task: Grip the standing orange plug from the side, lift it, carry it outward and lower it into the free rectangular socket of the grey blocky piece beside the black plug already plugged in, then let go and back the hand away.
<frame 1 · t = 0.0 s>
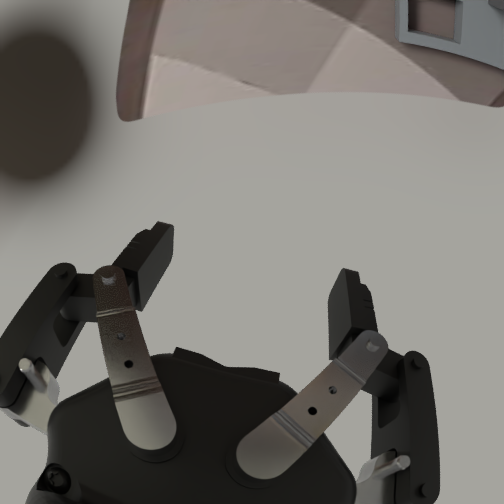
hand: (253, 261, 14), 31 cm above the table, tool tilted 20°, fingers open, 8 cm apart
grey blocky piece: (429, 12, 20), on the table
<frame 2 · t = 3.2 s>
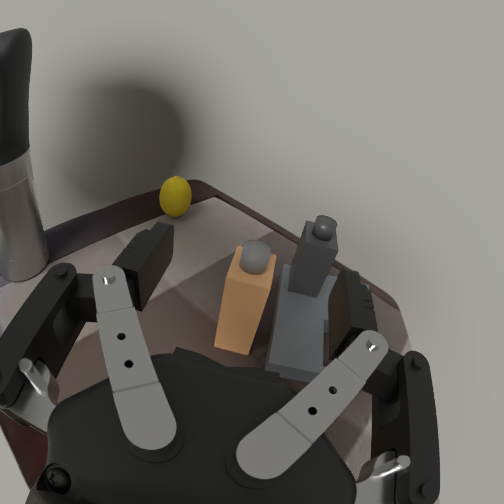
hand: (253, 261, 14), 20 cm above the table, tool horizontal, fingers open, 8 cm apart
grey blocky piece: (338, 357, 34), on the table
plug: (235, 334, 35), on the table
lemon: (174, 217, 52), on the table
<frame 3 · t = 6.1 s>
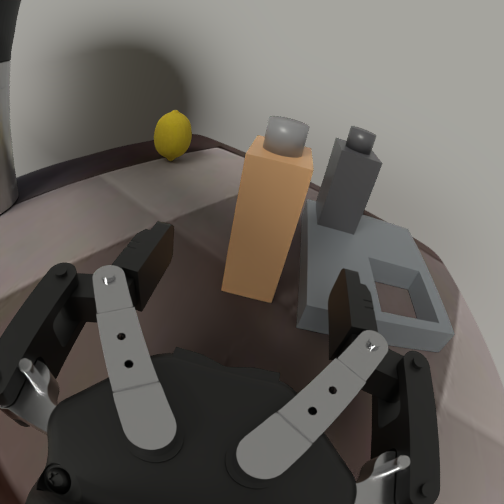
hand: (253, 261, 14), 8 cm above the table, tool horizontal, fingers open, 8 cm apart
grey blocky piece: (390, 308, 25), on the table
plug: (251, 276, 25), on the table
lemon: (170, 162, 42), on the table
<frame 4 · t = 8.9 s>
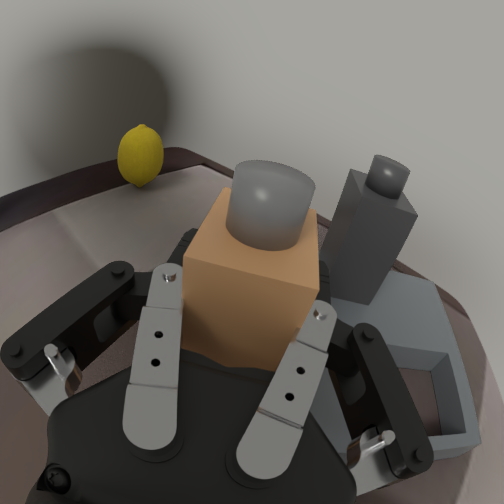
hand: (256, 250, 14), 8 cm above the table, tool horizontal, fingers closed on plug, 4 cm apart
grey blocky piece: (408, 406, 17), on the table
plug: (224, 380, 17), on the table, touching gripper
lemon: (139, 188, 34), on the table
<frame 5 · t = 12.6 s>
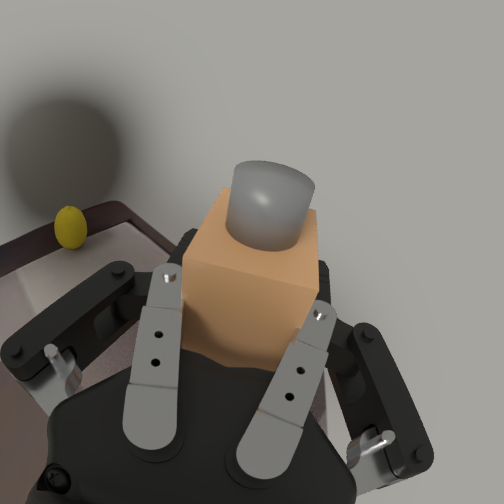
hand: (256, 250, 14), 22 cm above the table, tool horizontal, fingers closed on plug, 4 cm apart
plug: (224, 380, 17), point 14 cm above the table, touching gripper
lemon: (74, 249, 42), on the table
when the fingers open (8 cm above the table, at t = 16.4 s): plug stays where it is, resting in grey blocky piece.
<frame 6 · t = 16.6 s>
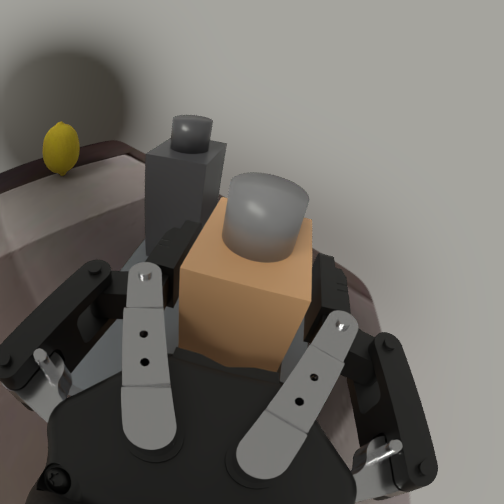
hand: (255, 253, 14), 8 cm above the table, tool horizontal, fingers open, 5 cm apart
grey blocky piece: (223, 383, 17), on the table
plug: (222, 383, 17), resting in grey blocky piece
lemon: (63, 176, 35), on the table
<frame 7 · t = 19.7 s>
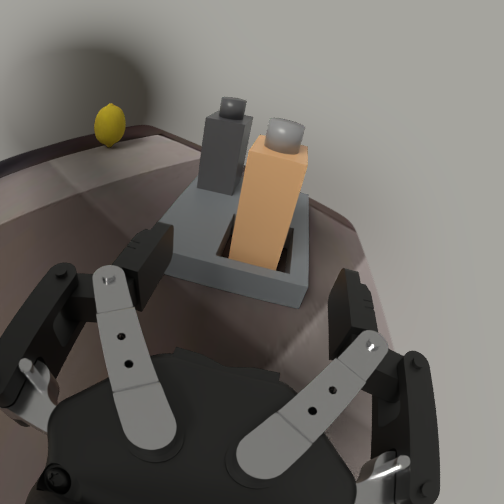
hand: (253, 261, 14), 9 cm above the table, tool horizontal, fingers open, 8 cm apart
grey blocky piece: (253, 262, 27), on the table
plug: (253, 262, 27), resting in grey blocky piece
lemon: (109, 148, 45), on the table
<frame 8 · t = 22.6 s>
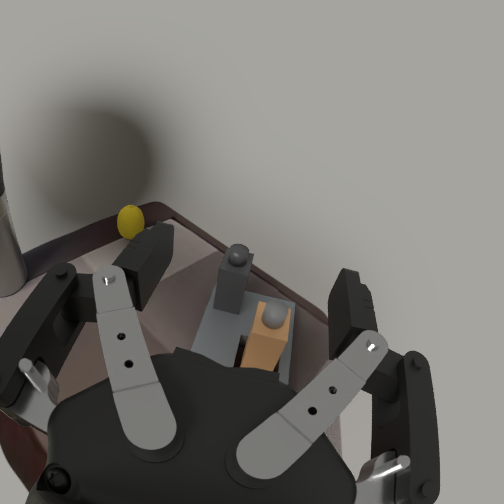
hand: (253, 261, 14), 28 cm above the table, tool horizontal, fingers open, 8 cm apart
grey blocky piece: (254, 367, 40), on the table
plug: (254, 368, 40), resting in grey blocky piece
lemon: (131, 240, 57), on the table
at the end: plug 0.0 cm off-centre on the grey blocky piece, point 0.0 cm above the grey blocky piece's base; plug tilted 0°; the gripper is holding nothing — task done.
